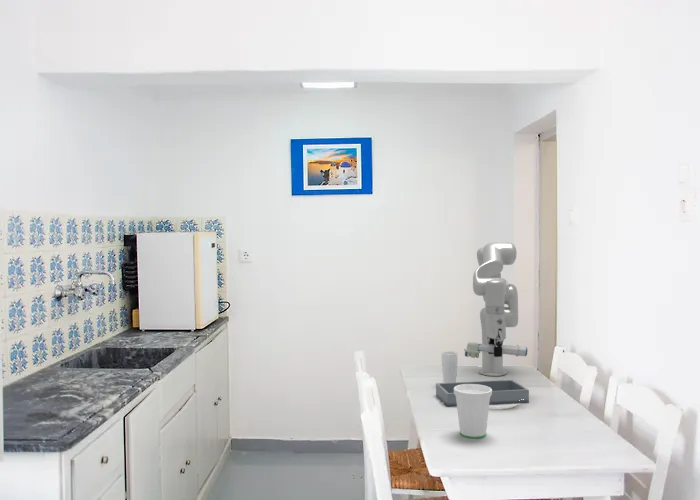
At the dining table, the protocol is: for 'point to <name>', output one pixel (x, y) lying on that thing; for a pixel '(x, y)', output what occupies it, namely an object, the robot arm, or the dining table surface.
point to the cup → (472, 409)
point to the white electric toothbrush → (475, 349)
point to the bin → (500, 392)
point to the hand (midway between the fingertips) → (495, 354)
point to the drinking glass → (449, 366)
